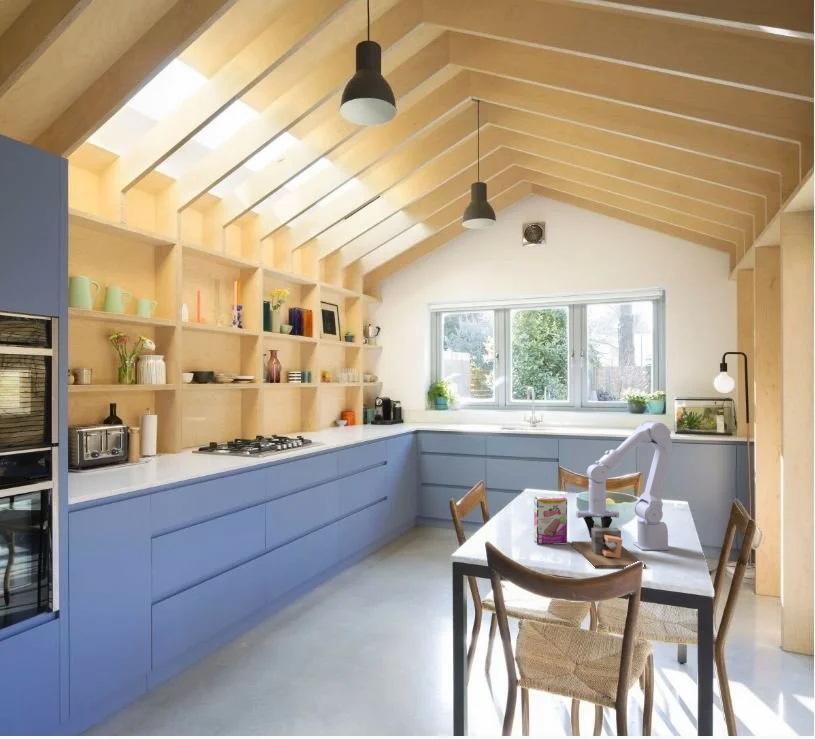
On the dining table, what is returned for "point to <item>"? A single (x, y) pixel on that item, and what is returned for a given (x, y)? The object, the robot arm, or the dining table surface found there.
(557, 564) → the dining table surface
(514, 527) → the dining table surface
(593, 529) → the bearing stand
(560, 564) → the dining table surface
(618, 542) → the spacer
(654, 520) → the robot arm
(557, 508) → the candy bar box
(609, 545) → the shaft
